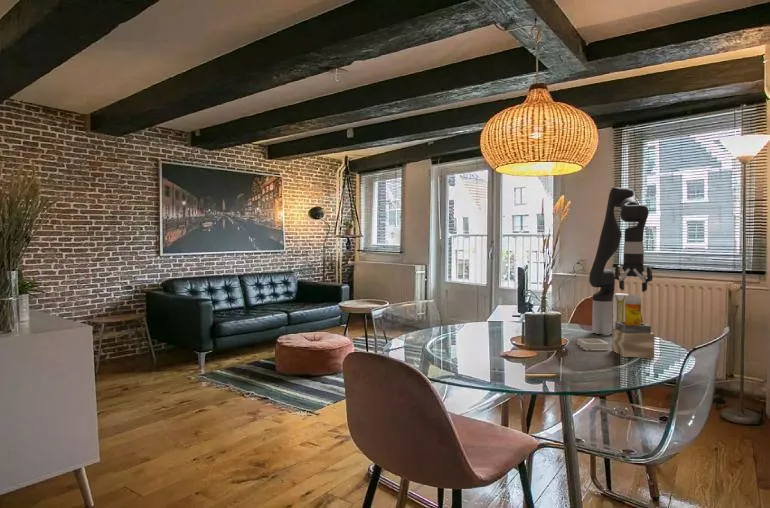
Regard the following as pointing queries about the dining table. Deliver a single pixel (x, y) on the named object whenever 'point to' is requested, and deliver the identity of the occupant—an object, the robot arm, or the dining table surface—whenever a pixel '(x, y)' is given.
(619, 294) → the juice carton
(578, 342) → the low collar
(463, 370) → the dining table surface
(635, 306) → the beer can
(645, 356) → the stand
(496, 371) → the dining table surface
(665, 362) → the dining table surface
